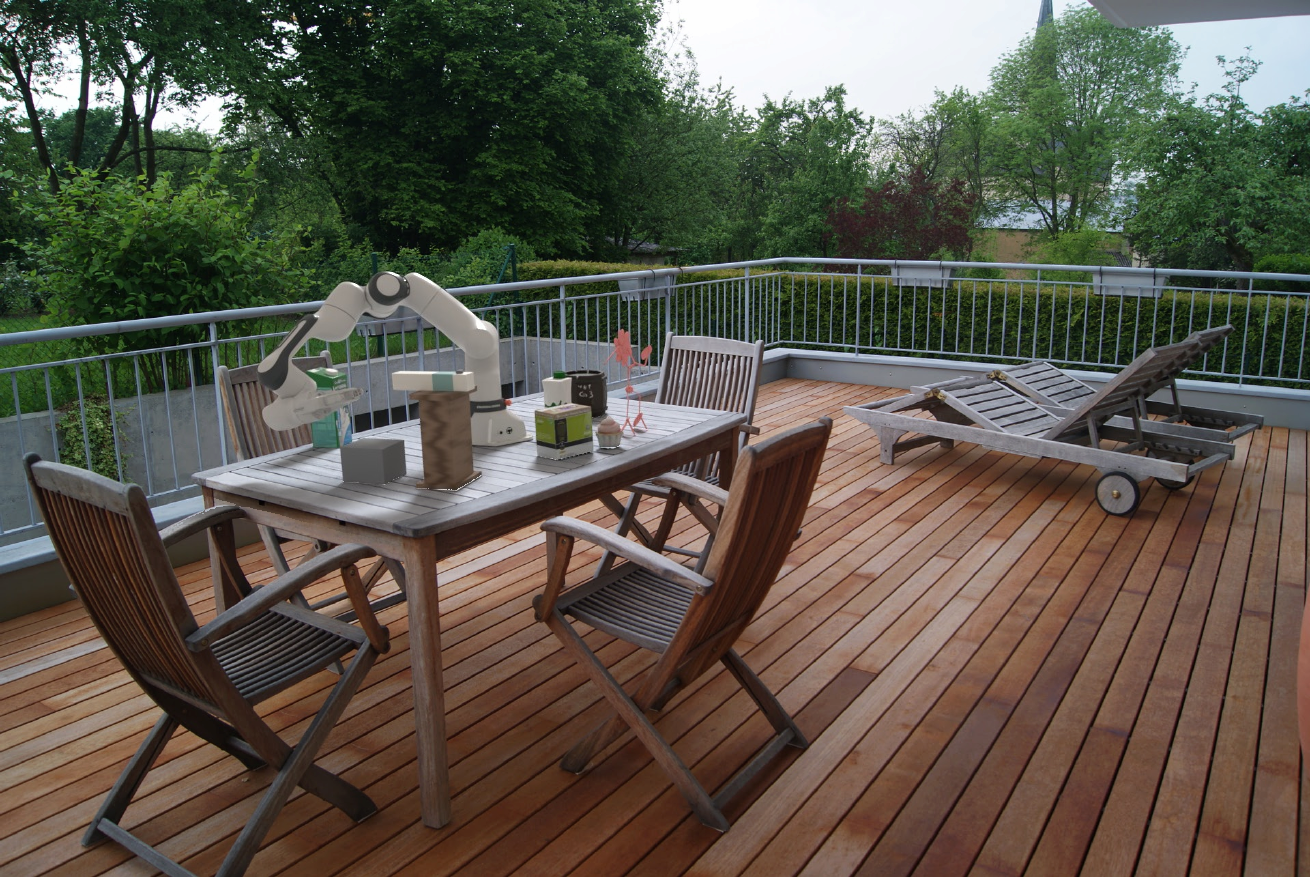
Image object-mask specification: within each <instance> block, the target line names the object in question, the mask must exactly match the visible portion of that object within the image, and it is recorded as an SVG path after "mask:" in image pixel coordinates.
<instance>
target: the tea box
mask: <svg viewBox="0 0 1310 877" xmlns="http://www.w3.org/2000/svg"><path fill="white" fill-rule="evenodd" d="M534 425H535V427H534V428H535V441H536V442H535V444H536V454H537V457H539V456H542V457H541V458H543V457H546V458H545V459H547V458H553V459H556V460H557V461H559V460H558V459H561V458H565V459H567V458H566V457H569V458H571V457H570V456H573V457H576V456H575V455H578V454H582V455H585V454H584V453H586V452H589V451H593V452H594V451H595V450H594V436H593V433H594V432H593V430H594V429H593V418H592V413H591V407H590V406H584V405H578V404H572V403H569V404H564V405H559V406H554V407H549V408H544V407H543V408H540V409H535V410H534ZM586 454H587V453H586ZM578 456H579V455H578ZM556 460H555V461H556ZM561 460H562V459H561Z"/></svg>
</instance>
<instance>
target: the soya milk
mask: <svg viewBox="0 0 1310 877" xmlns="http://www.w3.org/2000/svg"><path fill="white" fill-rule="evenodd" d="M552 373H553V374H552V375H553V376H551V377H546V378H544V379H542V380H541V383H542V388H543V389H542V390H543V401H544V402H543V405H544V406H543V409H544V408H549V407H554V406H559V405H564V404H569V403H571V380H572V378H568V377H565V371H563V370H559V371H558V370H557V371H553V372H552Z"/></svg>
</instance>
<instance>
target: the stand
mask: <svg viewBox="0 0 1310 877" xmlns="http://www.w3.org/2000/svg"><path fill="white" fill-rule="evenodd" d="M474 387H475V389H472V390H470V391H421V390H416V391H414V392H411V393H409V394H408V395H409V396H408V397H409V400H411V401H418V412H419V413H418V414H419V426H420V442H421V454H422V456H421V457H422V467H423V468H422V469H423V470H422V471H423V479H422V480H420V481H418V482H416V483H415V489H416V488H427V489H428V488H429V489H447V490H448V489H450V490H451V489H452V490H457V489H458V488H460V487H462V486H464V485H465V484H467V483H469V482H471V481H472V480H473V479H476V478H477V477H479V476H480V475H482V476H483V472H482V470H474V455H473V454H474V453H473V452H474V451H473V445H472V433H471V416H470V398H469V394H471V393H473V392H476V391H477V385H474ZM476 480H477V479H476Z"/></svg>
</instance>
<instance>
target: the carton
mask: <svg viewBox="0 0 1310 877" xmlns="http://www.w3.org/2000/svg"><path fill="white" fill-rule="evenodd" d="M391 381H392V391H420V390H421V391H470V390H472V389H475V387H474V372H465V371H464V369H456V370H455V371H440V370H439V371H427V370H425V371H424V370H423V371H422V370H420V371H419V370H418V371H417V370H415V371H414V370H412V371H411V370H399V371H395V372H392V373H391Z"/></svg>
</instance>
